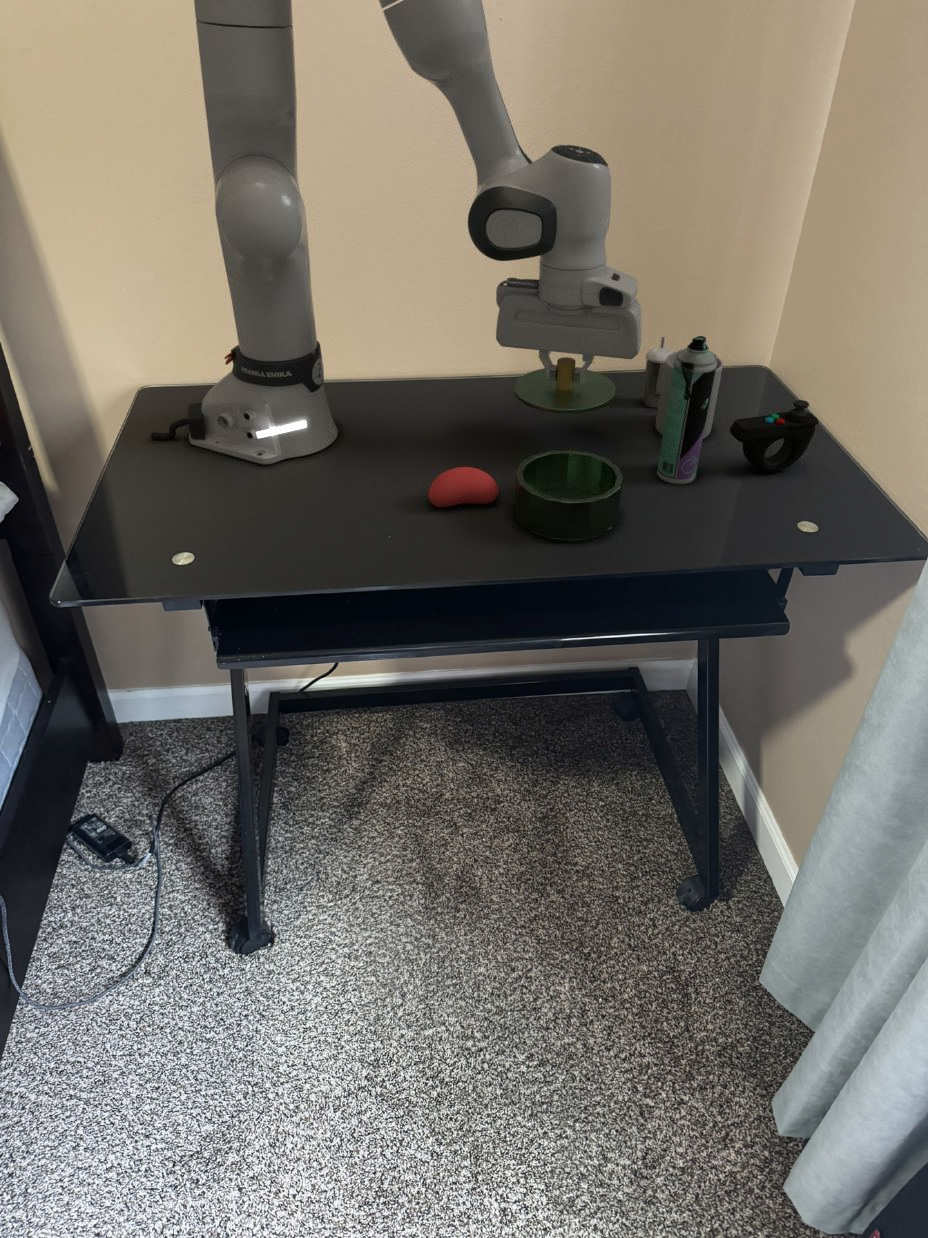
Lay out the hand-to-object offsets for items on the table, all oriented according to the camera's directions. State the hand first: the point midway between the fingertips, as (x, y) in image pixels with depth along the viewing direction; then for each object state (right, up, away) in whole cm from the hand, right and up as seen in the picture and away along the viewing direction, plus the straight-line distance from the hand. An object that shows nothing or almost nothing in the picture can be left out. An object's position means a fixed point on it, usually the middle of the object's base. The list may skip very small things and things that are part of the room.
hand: (565, 380), depth 126 cm
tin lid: (0, -1, +1) cm, 2 cm away
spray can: (+16, -14, 0) cm, 21 cm away
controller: (+29, -13, +1) cm, 32 cm away
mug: (+19, -6, +9) cm, 22 cm away
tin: (-1, -20, -9) cm, 22 cm away
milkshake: (+17, +1, +18) cm, 25 cm away
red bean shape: (-15, -19, -6) cm, 25 cm away
